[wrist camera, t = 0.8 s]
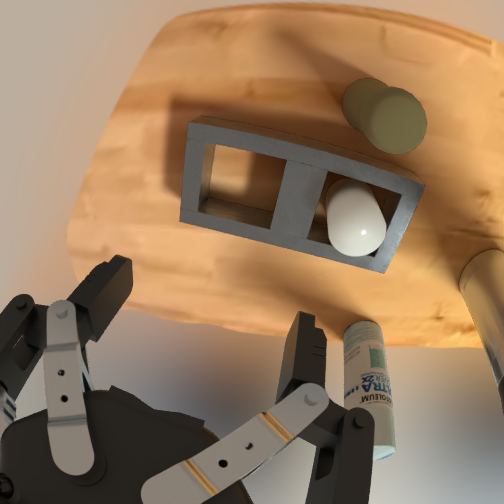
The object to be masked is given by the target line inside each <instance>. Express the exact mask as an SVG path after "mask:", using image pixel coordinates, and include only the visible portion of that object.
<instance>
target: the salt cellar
mask: <svg viewBox="0 0 504 504" xmlns="http://www.w3.org/2000/svg"><path fill="white" fill-rule="evenodd" d="M326 211H327V223H328V235H329V239H330V241H331V244H332V245H333V246H334V247H335V249H337V250H338V251H339V252H341V253H343V254H345V255H348V256H363V255H367V254H369V253H371V252H373V251H374V250H376V249H377V248H378V247H379V246H380V245H381V243H382V242H383V240H384V238H385V235H386V223H385V220H384V218H383V215H382V213H381V211H380V208H379V206H378V204H377V201H376V199H375V197H374V195H373V193H372V190H371V189H370V187H369V186H368V185H367V184H366V183H365V182H363V181H360V180H357V179H354V178H344V179H341V180H338V181H337V182H335V183H334V184H333V185H332V186H331V187H330V188H329V190H328V192H327V195H326Z"/></svg>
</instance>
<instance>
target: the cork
mask: <svg viewBox="0 0 504 504" xmlns="http://www.w3.org/2000/svg"><path fill="white" fill-rule="evenodd" d="M342 109H343V113H344V116H345V118H346V119H347V121H348V122H349V124H350V125H352V126H353V127H354V128H355V129H356V130H359V131H361V132H363V133H364V134H365V136H366V137H367V139H368V140H369V142H371V143H372V144H373V145H374V146H375V147H376V148H377V149H379V150H382V151H384V152H386V153H392V154H402V153H407V152H409V151H411V150H413V149H415V148H416V147H417V146H418V145H419V144H420V143H421V142H422V140H423V138H424V135H425V133H426V127H427V120H426V114H425V111H424V109H423V107H422V105H421V104H420V102H419V101H418V100H417V99H416V98H415V97H414V96H413V95H412V94H411V93H409V92H407V91H405V90H404V89H401V88H395V87H388V86H387V85H386V84H385V83H383V82H381V81H379V80H376V79H369V78H366V79H360V80H358V81H356V82H354V83H352V84H351V85H350V86H349V87H348V88H347V89H346V91H345V93H344V96H343V98H342Z"/></svg>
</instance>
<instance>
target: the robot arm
mask: <svg viewBox="0 0 504 504" xmlns="http://www.w3.org/2000/svg"><path fill="white" fill-rule="evenodd" d="M132 287H133V272H132V260H131V259H129V258H126V257H123V256H120V255H115V256H114V257H113V258H112V259H111V260H110V261H109V263H108V262H103V263H101V264H99V265H97V266H96V267H95V268H94V269H93V270H92V271H91V272H90V274H89V275H87V277H86V278H85V280H83V281H82V282H81V283H80V284H79V286H78V287H77V288H76V289H75V290H74V291H73V293H72V294H71V295H70V296H69V297H68V298H67V299H66V300H59V301H56V302H54V303H53V304H51V305H50V306H45V305H38V304H35V303H34V300H33V298H32V297H31V296H30V295H28V294H20V295H18V296H16V297H14V298H13V299H12V300H11V301H10V303H9V304H8V305H7V306H6V307H5V309H4V310H3V311H2V313H1V314H0V504H253V502H252V500H251V498H250V496H249V494H248V493H247V490H246V488H245V486H244V484H243V483H242V481H243V480H244V479H245V478H247V477H248V476H250V475H251V474H252V473H254V472H255V471H256V470H258V469H259V468H260V467H262V466H263V465H264V464H265V463H266V462H268V461H269V460H270V459H271V458H273V457H274V456H275V455H276V454H278V453H279V452H280V451H281V450H283V449H284V448H285V447H286V446H288V445H289V444H290V443H291V442H292V441H293V440H295V439H296V438H297V437H300V438H302V439H303V440H306V441H307V442H309V443H311V444H313V445H315V446H317V447H316V452H315V458H314V463H313V469H312V474H311V479H310V484H309V488H308V493H307V498H306V503H305V504H368V501H369V494H370V485H371V475H372V463H373V451H374V433H375V421H374V418H373V416H372V415H371V413H370V412H369V411H367V410H366V409H364V408H360V407H355V408H352V409H350V410H347V409H345V408H343V407H341V406H339V405H338V404H336V403H334V402H333V401H332V400H331V399H330V398H329V397H328V394H327V392H326V391H325V370H326V346H327V338H326V336H325V334H324V331H323V329H320V328H316V327H315V315H312V314H308V313H305V312H301V311H299V312H298V313H297V315H296V317H295V320H294V322H293V324H292V326H291V328H290V330H289V333H288V335H287V339H286V342H285V348H284V354H283V361H282V367H281V373H280V379H279V384H278V390H277V396H276V402H275V406H274V407H273V408H271V409H270V410H269V411H267V412H265V413H264V412H262V413H260V414H258V415H257V416H255V417H254V418H253V419H251V420H250V421H248V422H247V423H245V424H244V425H242V426H241V427H239V428H238V429H236V430H235V431H233V432H232V433H230V434H229V435H227V436H226V437H224V438H223V439H221V440H220V439H219V438H218V437H217V436H216V435H215V434H214V433H213V432H211V431H210V430H208V429H207V428H206V427H204V422H205V421H204V420H201V419H198V418H195V417H191V416H189V415H186V414H183V413H178V412H169V411H161V410H155V409H153V408H151V407H150V406H148V405H147V404H145V403H144V402H142V401H141V400H140V399H138V398H137V397H135V396H134V395H133V394H130V393H128V392H126V391H123V390H121V389H119V388H116V387H115V386H111V387H110V389H109V391H107V390H95V389H94V386H93V383H92V378H91V374H90V367H89V361H88V353H87V346H86V343H87V342H88V340H89V339H90V340H92V341H95V342H97V341H98V340H99V339H100V337H101V336H102V334H103V333H104V331H105V330H106V328H107V327H108V325H109V324H110V322H111V321H112V319H113V318H114V316H115V315H116V314H117V312H118V311H119V309H120V308H121V306H122V305H123V303H124V302H125V301H126V299H127V298H128V296H129V295H130V293H131V291H132ZM459 288H460V292H461V294H462V296H463V298H464V300H465V303H466V305H467V307H468V310H469V312H470V314H471V317H472V319H473V321H474V324H475V326H476V328H477V331H478V333H479V336H480V338H481V341H482V344H483V346H484V349H485V352H486V354H487V357H488V360H489V362H490V366H491V368H492V371H493V374H494V377H495V380H496V384H497V387H498V390H499V394H500V397H501V402H502V409H503V414H504V253H503V252H502V251H500V250H495V249H492V250H487V251H484V252H482V253H480V254H478V255H477V256H476V257H474V258H473V259H472V260H471V261H470V262H469V263H468V264H467V266H466V267H465V268H464V270H463V272H462V274H461V277H460V281H459ZM20 337H21V338H20ZM19 338H20V339H19ZM18 340H19V341H18ZM17 341H18V342H17ZM15 344H16V345H15ZM13 347H14V348H13ZM42 354H43V361H44V378H45V391H46V401H47V409H44V410H42V411H39V412H37V413H34V414H32V415H29V416H27V417H24V418H21V419H19V420H16V421H14V420H15V419H16V404H15V400H16V399H17V397H18V395H19V393H20V391H21V390H22V388H23V386H24V384H25V383H26V381H27V379H28V378H29V376H30V374H31V372H32V371H33V369H34V367H35V366H36V364H37V363H38V361H39V359H40V358H41V356H42Z"/></svg>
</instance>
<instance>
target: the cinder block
mask: <svg viewBox="0 0 504 504" xmlns="http://www.w3.org/2000/svg"><path fill="white" fill-rule="evenodd" d="M216 144H218V145H223V146H228V147H233V148H237V149H242V150H247V151H251V152H256V153H260V154H265V155H269V156H273V157H277V158H281V159H285V160H287V162H286V166H285V170H284V174H283V178H282V182H281V187H280V191H279V195H278V199H277V203H276V207H275V211H274V213H272V212H268V211H264V210H260V209H256V208H252V207H248V206H244V205H240V204H236V203H231V202H227V201H223V200H219V199H214V198H210V197H208V195H209V188H210V180H211V173H212V165H213V158H214V151H215V145H216ZM328 171H330V172H334V173H337V174H341V175H344V176H347V177H351V178H354V179H357V180H360V181H364V182H367V183H370V184H373V185H376V186H379V187H382V188H385V189H388V190H390V191H389V193H388V196H387V198H386V201H385V203H384V206H383V208H382V211H381V213H382V215H383V218H384V220H385V223H386V235H385V238H384V240H383V242H382V243H381V245H380V246H379V247H378V248H377V249H376V250H374V251H373V252H371V253H369V254H367V255H363V256H348V255H345V254H343V253H341V252H339V251H338V250H337V249H335V247H334V246H333V245H332V244H331V241H330V239H329V235H328V227H326V226H322V225H319V224H315V223H312V220H313V217H314V214H315V211H316V208H317V205H318V202H319V198H320V195H321V192H322V189H323V185H324V182H325V179H326V176H327V172H328ZM424 187H425V184H424V183H423V182H422V181H421V180H420V179H419V178H418V176H417V175H416V174H415V173H414V172H412V171H409V170H407V169H404V168H401V167H399V166H396V165H393V164H390V163H387V162H385V161H382V160H379V159H376V158H373V157H370V156H367V155H364V154H361V153H358V152H354V151H351V150H348V149H345V148H341V147H338V146H335V145H331V144H328V143H324V142H321V141H317V140H313V139H310V138H306V137H302V136H298V135H294V134H290V133H286V132H282V131H278V130H273V129H269V128H264V127H260V126H255V125H250V124H245V123H240V122H235V121H230V120H224V119H218V118H212V117H206V116H200V117H198V118H196V119H194V120H192V121H190V122H189V124H188V132H187V141H186V150H185V160H184V170H183V181H182V193H181V206H180V221H179V222H183V223H187V224H191V225H195V226H199V227H203V228H208V229H212V230H216V231H220V232H224V233H228V234H232V235H236V236H240V237H244V238H248V239H252V240H256V241H260V242H264V243H267V244H271V245H275V246H279V247H283V248H287V249H291V250H295V251H299V252H303V253H307V254H311V255H314V256H318V257H322V258H326V259H330V260H334V261H338V262H341V263H345V264H349V265H353V266H357V267H360V268H364V269H368V270H372V271H376V272H379V273H383V274H384V273H385V271H386V269H387V267H388V265H389V263H390V261H391V259H392V257H393V255H394V253H395V251H396V249H397V247H398V245H399V243H400V241H401V239H402V237H403V235H404V233H405V231H406V229H407V226H408V224H409V222H410V220H411V218H412V215H413V213H414V211H415V209H416V206H417V204H418V202H419V199H420V197H421V195H422V192H423V190H424Z"/></svg>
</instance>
